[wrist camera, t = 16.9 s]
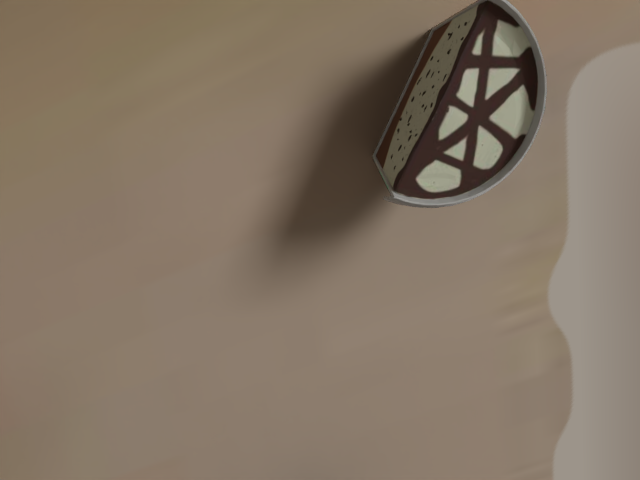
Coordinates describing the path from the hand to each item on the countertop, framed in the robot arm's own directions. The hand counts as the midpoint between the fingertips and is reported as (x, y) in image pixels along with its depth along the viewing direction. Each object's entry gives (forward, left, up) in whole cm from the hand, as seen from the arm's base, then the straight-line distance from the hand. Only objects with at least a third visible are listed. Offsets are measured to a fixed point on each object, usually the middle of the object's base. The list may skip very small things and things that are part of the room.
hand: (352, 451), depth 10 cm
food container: (+11, +2, -32) cm, 34 cm away
